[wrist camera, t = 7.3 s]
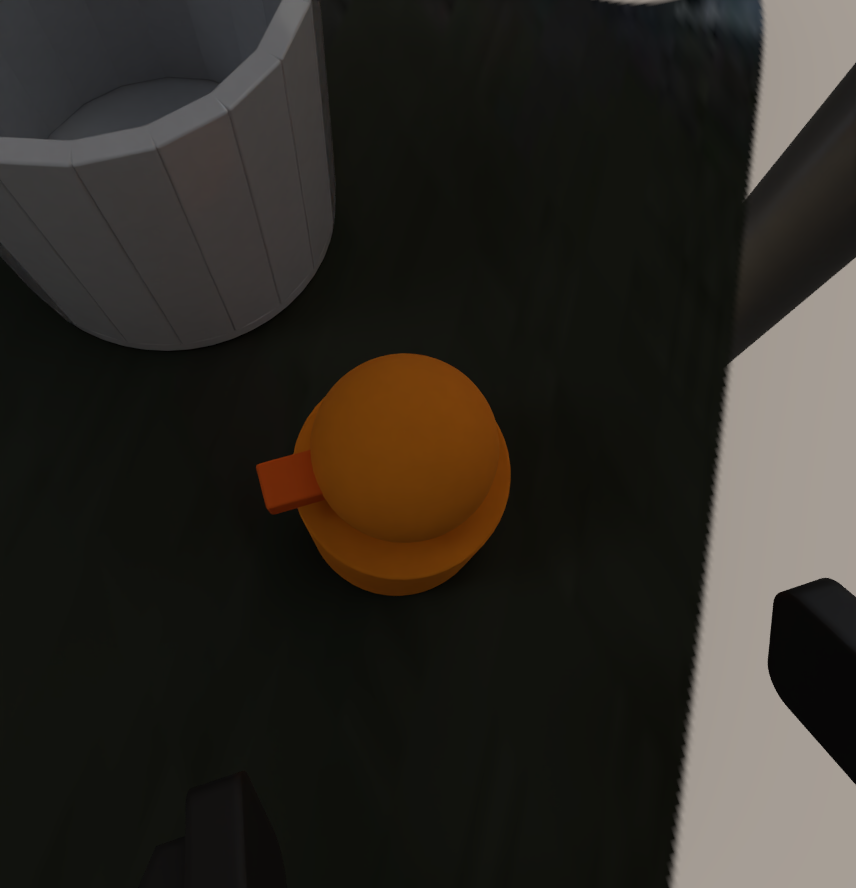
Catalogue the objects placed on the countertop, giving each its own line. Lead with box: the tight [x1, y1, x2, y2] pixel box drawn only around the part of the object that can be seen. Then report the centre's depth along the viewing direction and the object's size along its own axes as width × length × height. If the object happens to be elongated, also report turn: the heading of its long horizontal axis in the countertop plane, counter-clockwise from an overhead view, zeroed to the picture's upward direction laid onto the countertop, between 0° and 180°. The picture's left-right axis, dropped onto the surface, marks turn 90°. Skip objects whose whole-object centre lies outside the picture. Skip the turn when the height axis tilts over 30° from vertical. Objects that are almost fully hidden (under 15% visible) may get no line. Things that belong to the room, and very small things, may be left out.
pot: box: [0, 0, 336, 351], centre depth 20 cm, size 10×10×9 cm
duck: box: [256, 353, 510, 596], centre depth 18 cm, size 6×5×8 cm
